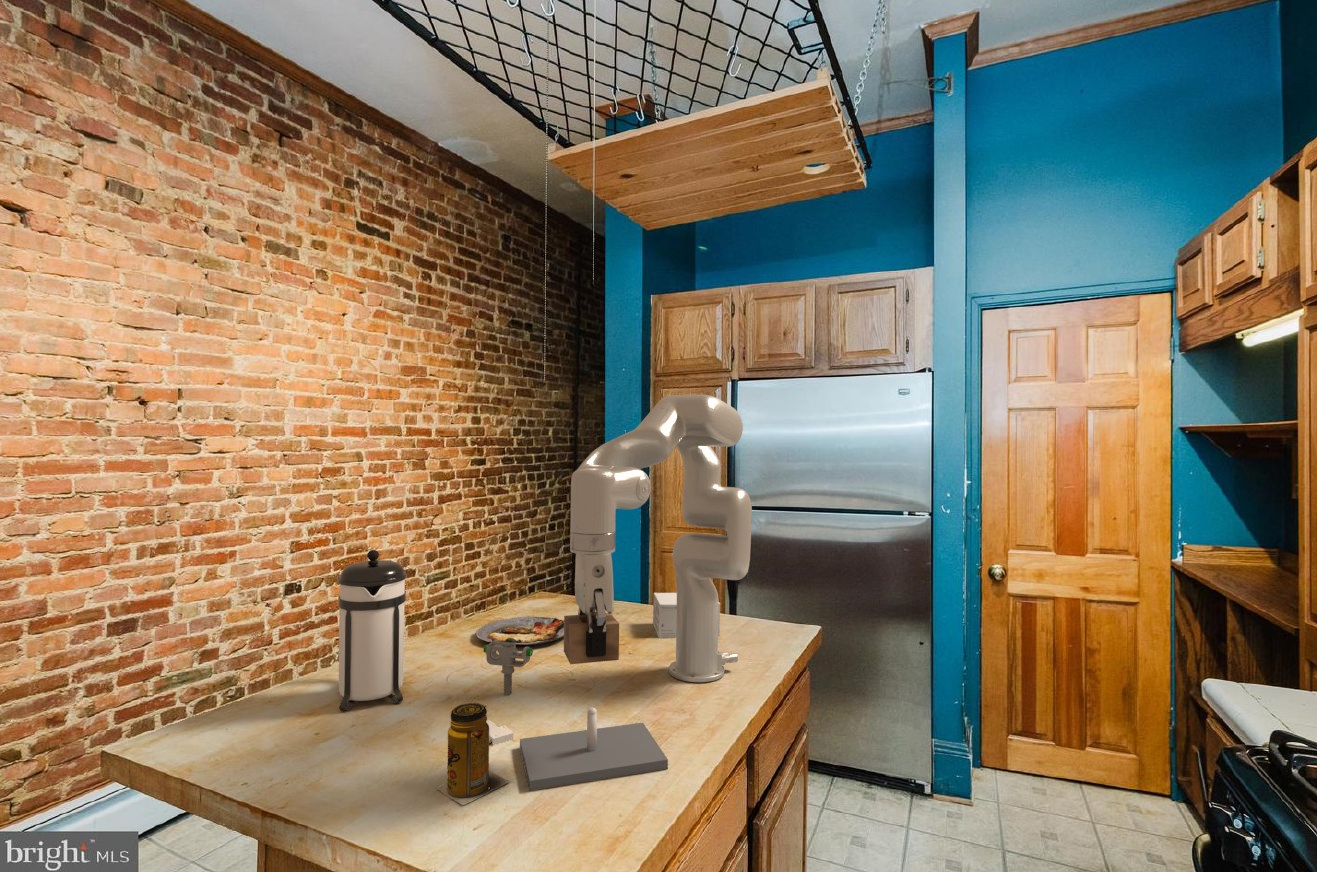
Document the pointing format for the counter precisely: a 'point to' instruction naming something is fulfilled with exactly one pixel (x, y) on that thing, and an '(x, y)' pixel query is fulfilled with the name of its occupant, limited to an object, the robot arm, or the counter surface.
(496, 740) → the corner connector
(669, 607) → the supplement box
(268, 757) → the counter surface
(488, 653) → the mechanical component
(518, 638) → the food plate
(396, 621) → the coffee press
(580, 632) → the hollow block
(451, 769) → the condiment
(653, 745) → the pin board
